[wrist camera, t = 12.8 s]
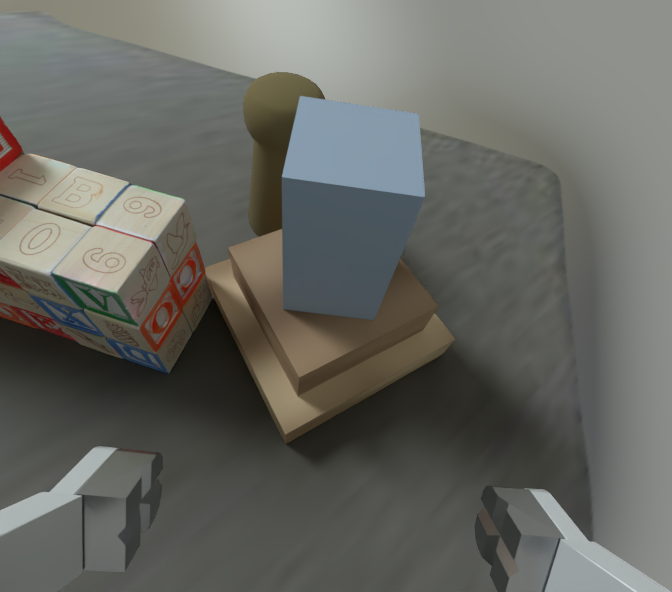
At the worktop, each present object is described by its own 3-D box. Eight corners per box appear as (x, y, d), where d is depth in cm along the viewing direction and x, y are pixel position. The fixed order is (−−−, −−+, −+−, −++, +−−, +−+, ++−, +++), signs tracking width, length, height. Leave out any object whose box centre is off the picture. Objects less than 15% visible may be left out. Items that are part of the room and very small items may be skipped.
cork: (290, 258, 29) (293, 130, 20) (232, 219, 31) (209, 82, 22) (336, 215, 32) (356, 86, 23) (281, 181, 34) (279, 47, 24)
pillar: (283, 309, 21) (281, 177, 13) (295, 239, 23) (300, 95, 16) (374, 320, 21) (424, 197, 13) (375, 249, 24) (418, 113, 16)
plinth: (209, 289, 27) (193, 238, 22) (351, 234, 31) (363, 182, 27) (285, 444, 22) (285, 420, 17) (441, 355, 26) (475, 316, 22)
